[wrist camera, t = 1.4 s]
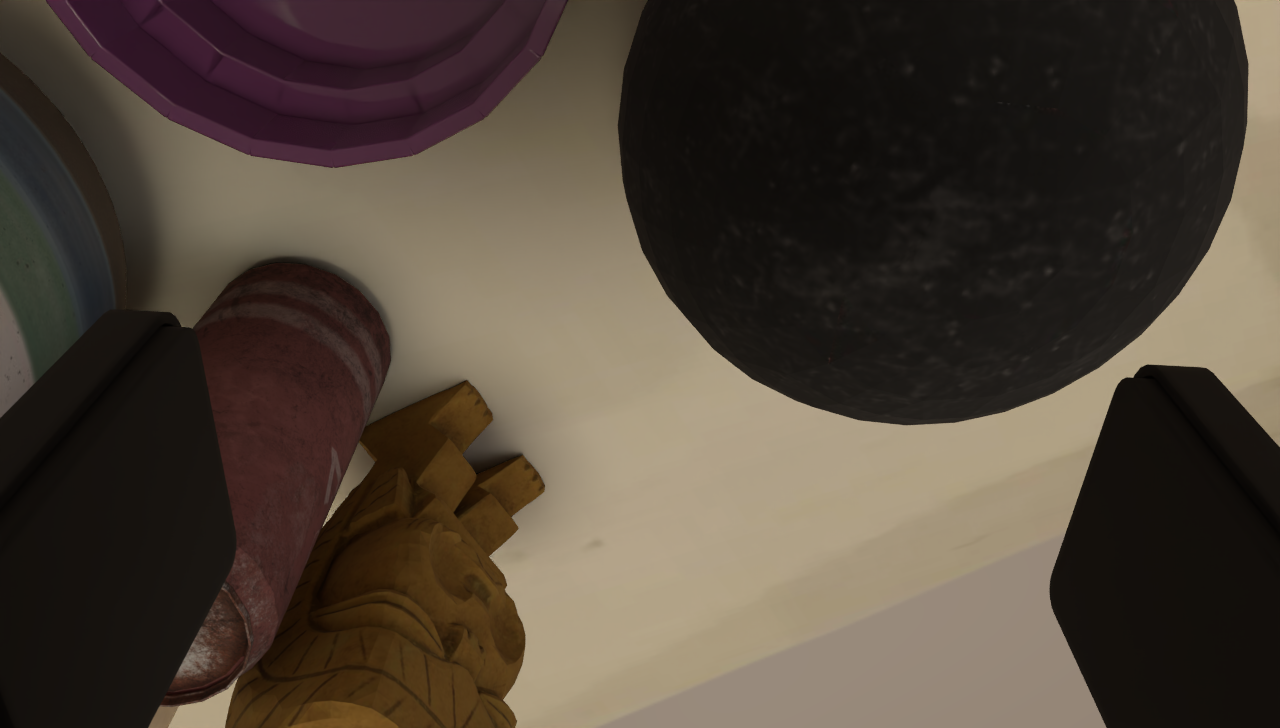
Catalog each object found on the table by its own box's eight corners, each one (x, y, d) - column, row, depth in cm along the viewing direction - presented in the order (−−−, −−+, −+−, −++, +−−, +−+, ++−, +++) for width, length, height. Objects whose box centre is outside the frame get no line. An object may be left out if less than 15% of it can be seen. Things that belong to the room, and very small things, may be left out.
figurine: (566, 496, 39) (524, 860, 26) (425, 557, 41) (320, 927, 28) (465, 357, 36) (361, 693, 23) (317, 429, 38) (143, 780, 25)
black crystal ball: (560, 151, 32) (498, 418, 19) (750, -309, 26) (846, -368, 13) (922, 302, 35) (1079, 627, 22) (1174, -82, 28) (1603, 57, 16)
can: (389, 255, 34) (245, 529, 22) (397, 413, 37) (276, 727, 25) (205, 241, 34) (-42, 509, 22) (229, 402, 37) (27, 712, 25)
